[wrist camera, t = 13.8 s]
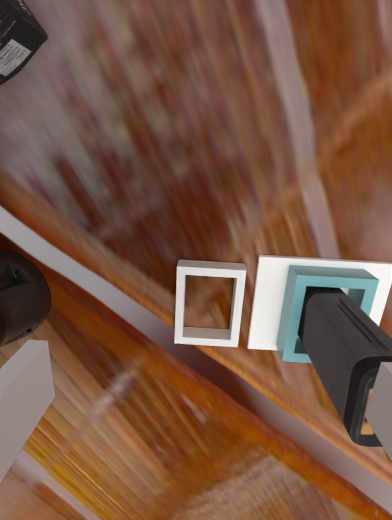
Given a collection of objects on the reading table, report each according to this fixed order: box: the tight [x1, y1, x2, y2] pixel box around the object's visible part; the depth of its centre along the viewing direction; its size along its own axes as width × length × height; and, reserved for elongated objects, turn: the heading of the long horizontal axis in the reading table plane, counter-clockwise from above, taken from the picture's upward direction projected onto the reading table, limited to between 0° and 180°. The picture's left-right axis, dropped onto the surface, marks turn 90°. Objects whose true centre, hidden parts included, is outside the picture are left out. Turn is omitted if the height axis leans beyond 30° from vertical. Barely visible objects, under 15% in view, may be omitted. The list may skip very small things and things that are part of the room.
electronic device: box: [297, 286, 392, 447], centre depth 36 cm, size 9×6×20 cm, turn 1°
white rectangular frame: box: [175, 260, 246, 347], centre depth 46 cm, size 10×13×3 cm
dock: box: [247, 255, 392, 363], centre depth 44 cm, size 20×16×5 cm
